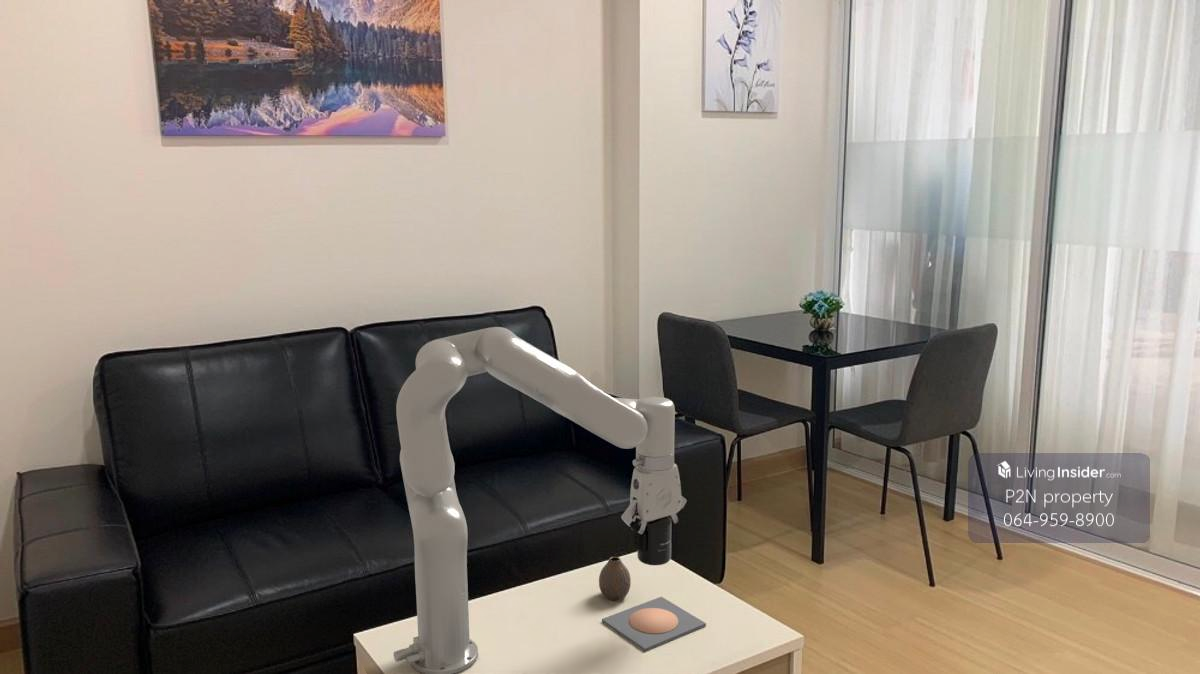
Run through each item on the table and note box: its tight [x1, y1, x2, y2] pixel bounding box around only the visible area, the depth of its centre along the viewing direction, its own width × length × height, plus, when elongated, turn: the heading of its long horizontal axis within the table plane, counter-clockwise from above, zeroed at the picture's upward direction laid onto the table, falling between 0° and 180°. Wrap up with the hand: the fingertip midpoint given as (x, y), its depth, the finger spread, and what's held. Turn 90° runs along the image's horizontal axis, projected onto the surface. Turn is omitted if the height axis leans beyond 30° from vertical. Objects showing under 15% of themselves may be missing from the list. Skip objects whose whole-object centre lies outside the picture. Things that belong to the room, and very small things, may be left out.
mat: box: [601, 596, 707, 652], centre depth 175 cm, size 16×14×1 cm
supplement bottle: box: [636, 516, 672, 566], centre depth 171 cm, size 7×7×12 cm
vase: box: [598, 556, 632, 602], centre depth 185 cm, size 7×7×9 cm
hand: (654, 544), depth 171 cm, fingers closed on supplement bottle, 6 cm apart
